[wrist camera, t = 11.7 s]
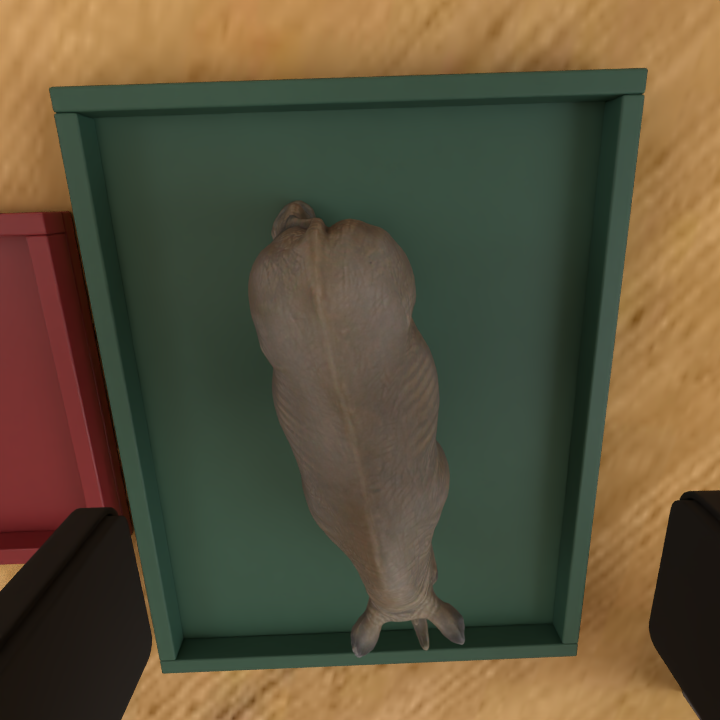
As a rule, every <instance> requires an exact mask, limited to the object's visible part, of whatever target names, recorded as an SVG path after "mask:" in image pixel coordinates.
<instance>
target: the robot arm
mask: <svg viewBox="0 0 720 720" xmlns="http://www.w3.org/2000/svg"><path fill="white" fill-rule="evenodd" d="M649 632H650V636H651V639H652V642H653V645H654V646H655V648H656V650H657V651H658V653H659V655H660V656H661V658H662V659H663V661H664V662H665V664H666V665H667V667H668V668H669V670H670V672H671V673H672V675H673V676H674V678H675V679H676V681H677V682H678V684H679V685H680V687H681V689H682V690H683V692H684V693H685V695H686V696H687V698H688V699H689V701H690V703H691V704H692V706H693V707H694V709H695V710H696V712H697V713H698V715H699V716H700V718H701V720H720V490H717V491H688V492H685V493H684V494H683V495H682V496H681V498H680V500H677V501H675V502H674V503H673V504H672V507H671V510H670V515H669V521H668V526H667V531H666V536H665V542H664V547H663V552H662V557H661V563H660V568H659V573H658V578H657V584H656V589H655V594H654V599H653V605H652V610H651V615H650V621H649ZM151 646H152V634H151V629H150V625H149V620H148V615H147V610H146V606H145V601H144V596H143V591H142V587H141V582H140V577H139V572H138V568H137V563H136V558H135V553H134V549H133V544H132V539H131V534H130V530H129V525H128V521H127V519H126V517H125V516H122V515H121V516H119V515H118V513H117V511H116V510H115V508H112V507H96V508H78V509H75V510H74V511H73V512H72V513H71V514H70V515H69V516H68V517H67V518H66V519H65V520H64V521H63V523H62V524H61V525H60V526H59V527H58V528H57V529H56V530H55V531H54V533H53V534H52V535H51V536H50V537H49V538H48V539H47V540H46V541H45V543H44V544H43V545H42V546H41V547H40V548H39V549H38V550H37V551H36V553H35V554H34V555H33V556H32V557H31V558H30V559H29V560H28V561H27V562H26V564H25V565H24V566H23V567H22V568H21V569H20V570H19V571H18V572H17V574H16V575H15V576H14V577H13V578H12V579H11V580H10V581H9V582H8V584H7V585H6V586H5V587H4V588H3V589H2V590H1V591H0V720H121V719H122V717H123V714H124V712H125V710H126V708H127V706H128V703H129V701H130V699H131V697H132V695H133V692H134V690H135V688H136V686H137V684H138V681H139V679H140V677H141V675H142V673H143V670H144V668H145V666H146V664H147V661H148V659H149V656H150V652H151Z"/></svg>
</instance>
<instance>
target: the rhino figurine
mask: <svg viewBox="0 0 720 720" xmlns="http://www.w3.org/2000/svg"><path fill="white" fill-rule="evenodd" d="M271 235H272V238H273V241H272V242H271V243H270V244H269V245H268V246H266V247H265V248H264V249H263V250H262V251H261V252H260V253H259V255H258V256H257V258H256V260H255V262H254V263H253V266H252V269H251V272H250V275H249V282H248V297H249V305H250V311H251V316H252V319H253V322H254V325H255V328H256V332H257V336H258V340H259V343H260V347H261V350H262V352H263V353H264V355H265V356H266V358H267V360H268V361H269V362H270V364H271V365H272V367H273V377H272V395H273V401H274V406H275V410H276V413H277V417H278V420H279V423H280V425H281V427H282V429H283V431H284V434H285V436H286V438H287V440H288V442H289V444H290V446H291V449H292V451H293V454H294V456H295V459H296V461H297V464H298V467H299V470H300V473H301V480H302V487H303V491H304V495H305V499H306V502H307V504H308V507H309V510H310V512H311V514H312V516H313V518H314V520H315V521H316V523H317V524H318V526H319V527H320V528H321V529H322V530H323V531H324V532H325V534H326V535H327V536H328V537H329V538H330V539H331V540H332V541H333V542H334V543H335V544H336V545H337V546H338V547H339V548H340V549H341V550H342V551H343V552H344V553H345V554H346V555H347V556H348V558H349V559H350V560H351V561H352V563H353V565H354V566H355V568H356V569H357V571H358V573H359V575H360V577H361V580H362V582H363V583H364V585H365V588H366V591H367V594H368V595H369V600H368V604H367V607H366V610H365V611H364V613H363V614H362V615H361V616H360V617H359V618H358V620H357V621H356V623H355V624H354V625H353V627H352V630H351V635H350V636H351V645H352V651H353V652H354V654H355V655H356V656H357V657H359V658H360V657H362V656H365V655H366V654H368V653H369V652H370V651H371V650H373V649H374V647H375V645H376V643H377V641H378V638H379V634H380V631H381V627H382V625H383V624H384V623H386V622H390V621H394V622H402V621H409V620H411V622H412V624H413V626H414V629H415V632H416V634H417V637H418V639H419V642H420V645H421V647H422V648H423V649H424V650H428V648H429V634H428V624H427V619H428V620H430V621H431V622H432V623H433V624H434V625H435V626H436V627H437V628H438V629H439V630H440V632H441V633H442V634H443V635H444V636H445V637H446V638H448V639H449V640H450V641H452V642H454V643H457V644H460V645H462V644H464V642H465V636H464V629H465V625H464V619H463V616H462V615H461V614H460V613H459V612H458V611H457V610H456V609H455V608H454V607H453V606H452V605H450V604H449V603H446V602H443V601H442V600H441V599H439V598H438V597H437V596H436V594H435V592H434V590H433V585H434V583H435V582H436V581H437V579H438V570H437V564H436V560H435V557H434V551H433V547H432V543H431V541H432V537H433V533H434V529H435V527H436V525H437V523H438V521H439V519H440V516H441V512H442V509H443V506H444V504H445V502H446V499H447V496H448V491H449V482H450V472H449V465H448V461H447V459H446V456H445V453H444V451H443V449H442V447H441V445H440V444H439V443H438V442H437V440H436V433H437V422H438V410H439V400H440V399H439V385H438V375H437V370H436V366H435V363H434V360H433V357H432V354H431V351H430V349H429V347H428V345H427V344H426V342H425V340H424V339H423V337H422V335H421V333H420V332H419V330H418V329H417V327H416V325H415V323H414V321H413V319H412V312H413V307H414V305H415V302H416V287H415V278H414V274H413V270H412V267H411V265H410V262H409V260H408V258H407V256H406V254H405V252H404V251H403V249H402V248H401V247H400V246H399V245H398V244H397V243H396V241H395V240H394V239H393V238H392V237H391V236H390V234H389V233H388V232H387V231H385V230H384V229H382V228H380V227H377V226H374V225H370V224H368V223H365V222H363V221H360V220H355V219H344V220H341V221H339V222H337V223H335V224H333V225H332V226H331V227H327V226H326V225H325V224H324V222H323V220H322V219H320V218H316V216H315V213H314V210H313V209H312V208H311V207H310V205H308V204H307V203H305V202H303V201H301V200H296V201H293V202H291V203H289V204H287V205H286V206H284V207H283V209H282V210H281V211H280V213H279V214H278V216H277V217H276V219H275V221H274V223H273V227H272V231H271Z"/></svg>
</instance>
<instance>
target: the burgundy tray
mask: <svg viewBox="0 0 720 720" xmlns="http://www.w3.org/2000/svg"><path fill="white" fill-rule="evenodd" d="M96 507H112V508H115V510H116V511H117V513H118V515H119V516H121V515H122V516H125V517H126V519H127V521H128V525H129V530H130V534H131V535H132V533H133V530H132V525H131V520H130V515H129V510H128V505H127V499H126V494H125V489H124V484H123V479H122V474H121V469H120V464H119V458H118V453H117V448H116V443H115V438H114V433H113V428H112V423H111V418H110V412H109V407H108V402H107V397H106V392H105V387H104V382H103V377H102V371H101V366H100V361H99V356H98V351H97V346H96V341H95V336H94V331H93V325H92V320H91V315H90V310H89V305H88V300H87V295H86V290H85V284H84V279H83V274H82V269H81V264H80V259H79V254H78V249H77V244H76V238H75V233H74V228H73V223H72V218H71V213H70V212H69V211H59V212H25V213H0V565H2V564H26V562H27V561H28V560H29V559H30V558H31V557H32V556H33V555H34V554H35V553H36V551H37V550H38V549H39V548H40V547H41V546H42V545H43V544H44V543H45V541H46V540H47V539H48V538H49V537H50V536H51V535H52V534H53V533H54V531H55V530H56V529H57V528H58V527H59V526H60V525H61V524H62V523H63V521H64V520H65V519H66V518H67V517H68V516H69V515H70V514H71V513H72V512H73V511H74V510H75V509H78V508H96Z"/></svg>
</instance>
